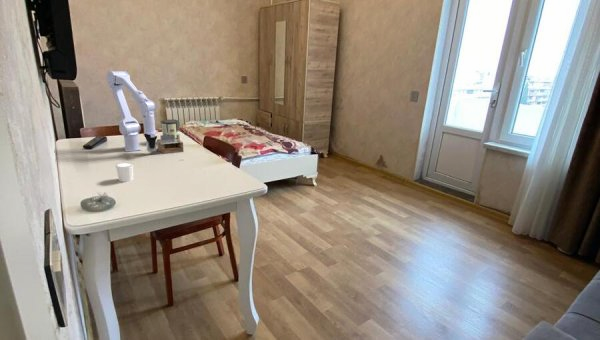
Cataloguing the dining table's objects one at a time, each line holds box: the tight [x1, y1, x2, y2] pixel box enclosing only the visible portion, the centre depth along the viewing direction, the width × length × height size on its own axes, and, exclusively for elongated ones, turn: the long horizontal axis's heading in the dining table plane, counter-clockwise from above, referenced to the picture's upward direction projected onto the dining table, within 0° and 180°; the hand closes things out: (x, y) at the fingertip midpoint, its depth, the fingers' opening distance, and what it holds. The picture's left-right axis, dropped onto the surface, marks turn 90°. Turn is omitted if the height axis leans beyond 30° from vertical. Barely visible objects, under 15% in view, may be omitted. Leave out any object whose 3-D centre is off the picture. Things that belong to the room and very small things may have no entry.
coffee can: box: [160, 119, 181, 141], centre depth 207 cm, size 10×10×14 cm
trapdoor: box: [159, 134, 179, 144], centre depth 192 cm, size 10×9×3 cm
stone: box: [145, 141, 157, 152], centre depth 183 cm, size 4×4×4 cm
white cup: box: [115, 162, 134, 183], centre depth 144 cm, size 7×7×7 cm
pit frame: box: [156, 138, 184, 155], centre depth 192 cm, size 13×12×6 cm
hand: (151, 147), depth 183 cm, fingers closed on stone, 4 cm apart
